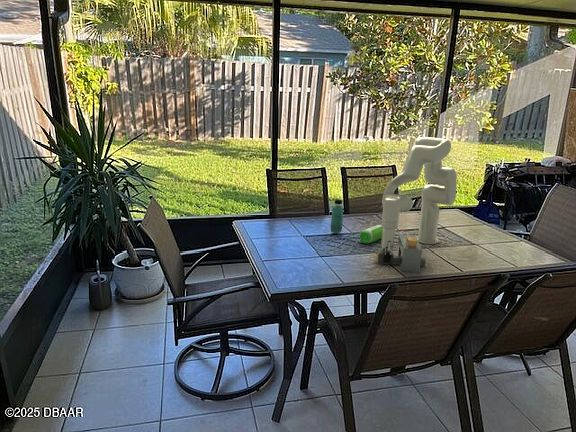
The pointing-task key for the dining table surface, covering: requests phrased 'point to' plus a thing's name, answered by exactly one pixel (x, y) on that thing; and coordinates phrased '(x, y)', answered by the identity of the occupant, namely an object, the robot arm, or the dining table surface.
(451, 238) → the dining table surface
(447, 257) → the dining table surface
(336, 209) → the beverage bottle
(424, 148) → the robot arm
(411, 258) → the grey boxy piece
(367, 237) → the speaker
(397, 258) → the plug
